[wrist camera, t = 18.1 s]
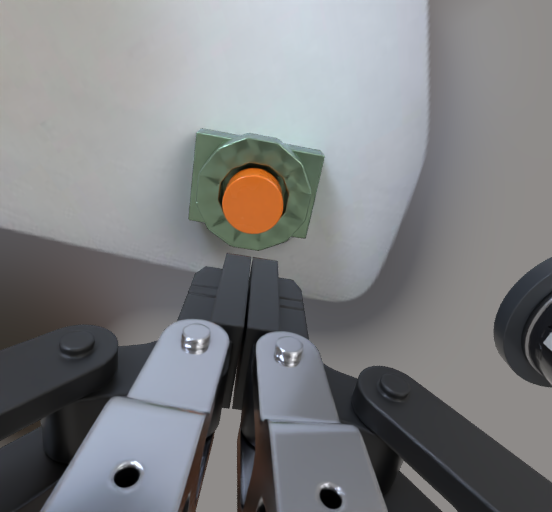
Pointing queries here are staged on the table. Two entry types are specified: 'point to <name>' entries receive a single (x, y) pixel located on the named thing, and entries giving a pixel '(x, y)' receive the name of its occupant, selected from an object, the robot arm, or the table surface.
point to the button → (253, 201)
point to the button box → (253, 154)
